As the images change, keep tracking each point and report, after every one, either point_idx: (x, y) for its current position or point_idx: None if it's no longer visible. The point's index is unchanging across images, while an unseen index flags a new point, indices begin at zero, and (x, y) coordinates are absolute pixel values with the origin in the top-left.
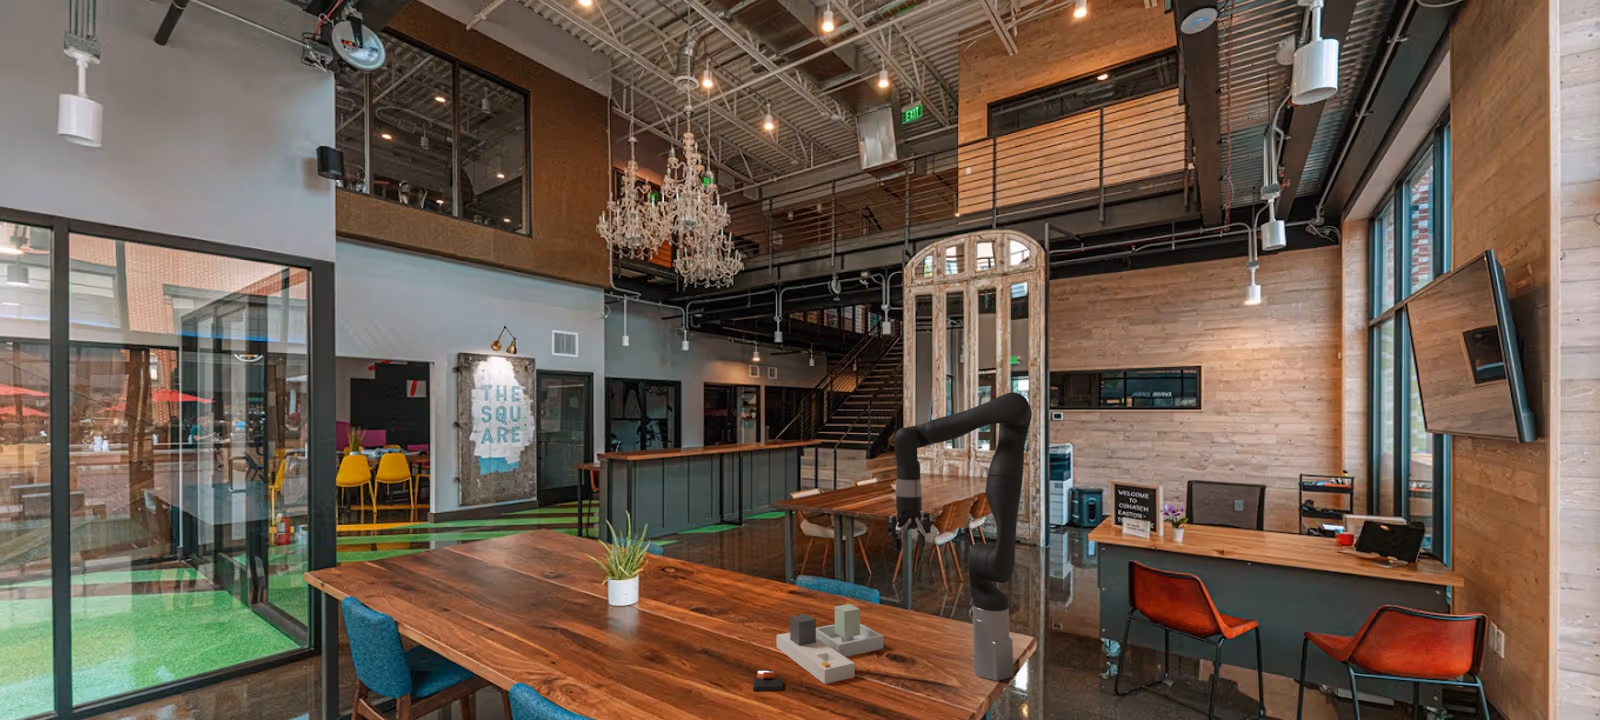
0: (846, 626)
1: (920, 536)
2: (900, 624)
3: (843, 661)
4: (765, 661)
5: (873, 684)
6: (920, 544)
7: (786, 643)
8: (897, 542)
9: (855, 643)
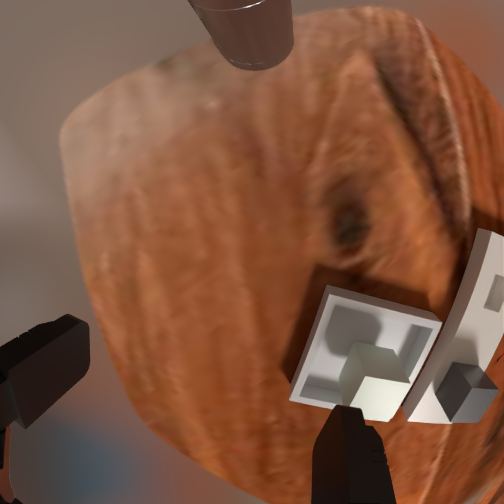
0: (395, 361)
1: (16, 391)
2: (174, 344)
3: (497, 253)
4: (495, 375)
5: (477, 179)
6: (67, 354)
7: None
8: (377, 480)
9: (405, 311)
